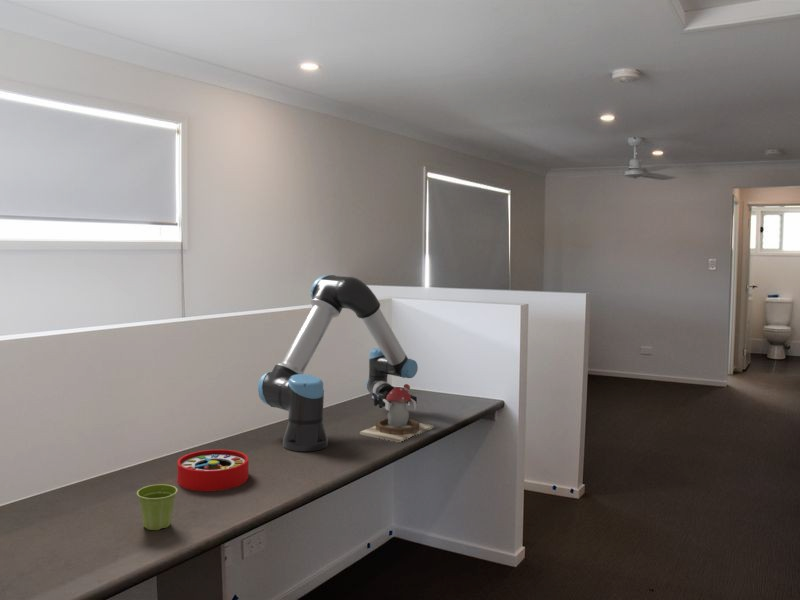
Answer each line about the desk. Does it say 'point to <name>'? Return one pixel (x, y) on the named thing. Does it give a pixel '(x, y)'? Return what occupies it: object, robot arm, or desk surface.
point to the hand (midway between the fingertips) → (401, 406)
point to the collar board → (394, 437)
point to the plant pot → (157, 505)
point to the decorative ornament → (398, 406)
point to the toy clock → (212, 470)
